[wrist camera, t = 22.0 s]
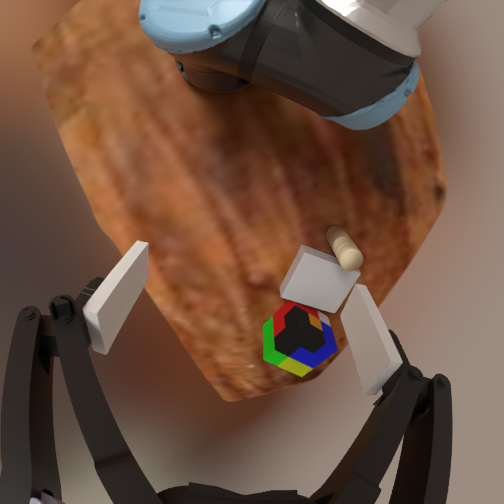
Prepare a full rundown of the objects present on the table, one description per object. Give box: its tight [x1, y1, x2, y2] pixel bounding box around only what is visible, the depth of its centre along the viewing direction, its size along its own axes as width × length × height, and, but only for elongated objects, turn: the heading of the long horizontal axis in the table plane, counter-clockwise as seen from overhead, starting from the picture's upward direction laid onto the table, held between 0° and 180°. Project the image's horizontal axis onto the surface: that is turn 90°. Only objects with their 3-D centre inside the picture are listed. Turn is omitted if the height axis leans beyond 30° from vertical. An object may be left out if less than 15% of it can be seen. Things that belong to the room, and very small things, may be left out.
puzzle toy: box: [263, 300, 338, 377], centre depth 52 cm, size 10×10×10 cm
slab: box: [280, 245, 361, 313], centre depth 50 cm, size 10×12×4 cm
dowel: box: [326, 225, 363, 271], centre depth 43 cm, size 4×4×10 cm
